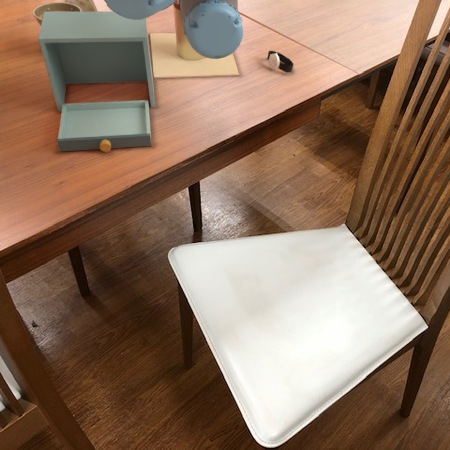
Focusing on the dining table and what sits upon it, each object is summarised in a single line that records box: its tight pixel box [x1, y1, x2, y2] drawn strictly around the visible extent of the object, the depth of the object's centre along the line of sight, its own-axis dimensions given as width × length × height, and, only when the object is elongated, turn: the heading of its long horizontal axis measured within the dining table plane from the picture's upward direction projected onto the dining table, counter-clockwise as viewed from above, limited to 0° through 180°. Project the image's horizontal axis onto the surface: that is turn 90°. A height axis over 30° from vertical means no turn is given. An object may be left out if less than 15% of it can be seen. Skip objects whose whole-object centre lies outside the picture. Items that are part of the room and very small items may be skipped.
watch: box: [266, 50, 294, 73], centre depth 114 cm, size 8×5×4 cm, turn 36°
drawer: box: [56, 99, 152, 153], centre depth 91 cm, size 13×15×2 cm
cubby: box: [37, 11, 156, 112], centre depth 95 cm, size 11×18×14 cm, turn 104°
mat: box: [149, 32, 240, 80], centre depth 115 cm, size 20×18×1 cm
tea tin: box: [172, 0, 206, 60], centre depth 110 cm, size 7×7×12 cm
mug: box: [63, 0, 99, 12], centre depth 119 cm, size 8×10×10 cm
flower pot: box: [32, 1, 82, 26], centre depth 108 cm, size 9×9×9 cm
